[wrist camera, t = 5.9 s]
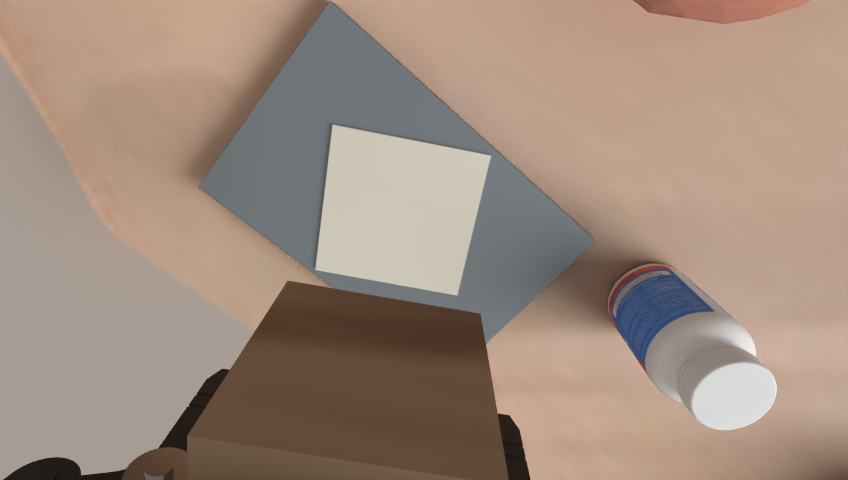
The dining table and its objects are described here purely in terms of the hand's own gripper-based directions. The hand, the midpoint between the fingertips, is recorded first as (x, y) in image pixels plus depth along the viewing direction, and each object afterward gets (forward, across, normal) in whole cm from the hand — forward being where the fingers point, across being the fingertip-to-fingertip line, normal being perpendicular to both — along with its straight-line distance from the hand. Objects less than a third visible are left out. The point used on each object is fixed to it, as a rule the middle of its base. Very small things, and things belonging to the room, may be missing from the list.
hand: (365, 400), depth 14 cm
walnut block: (+1, 0, 0) cm, 1 cm away
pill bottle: (+18, -17, +3) cm, 25 cm away
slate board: (+17, 0, 0) cm, 17 cm away
